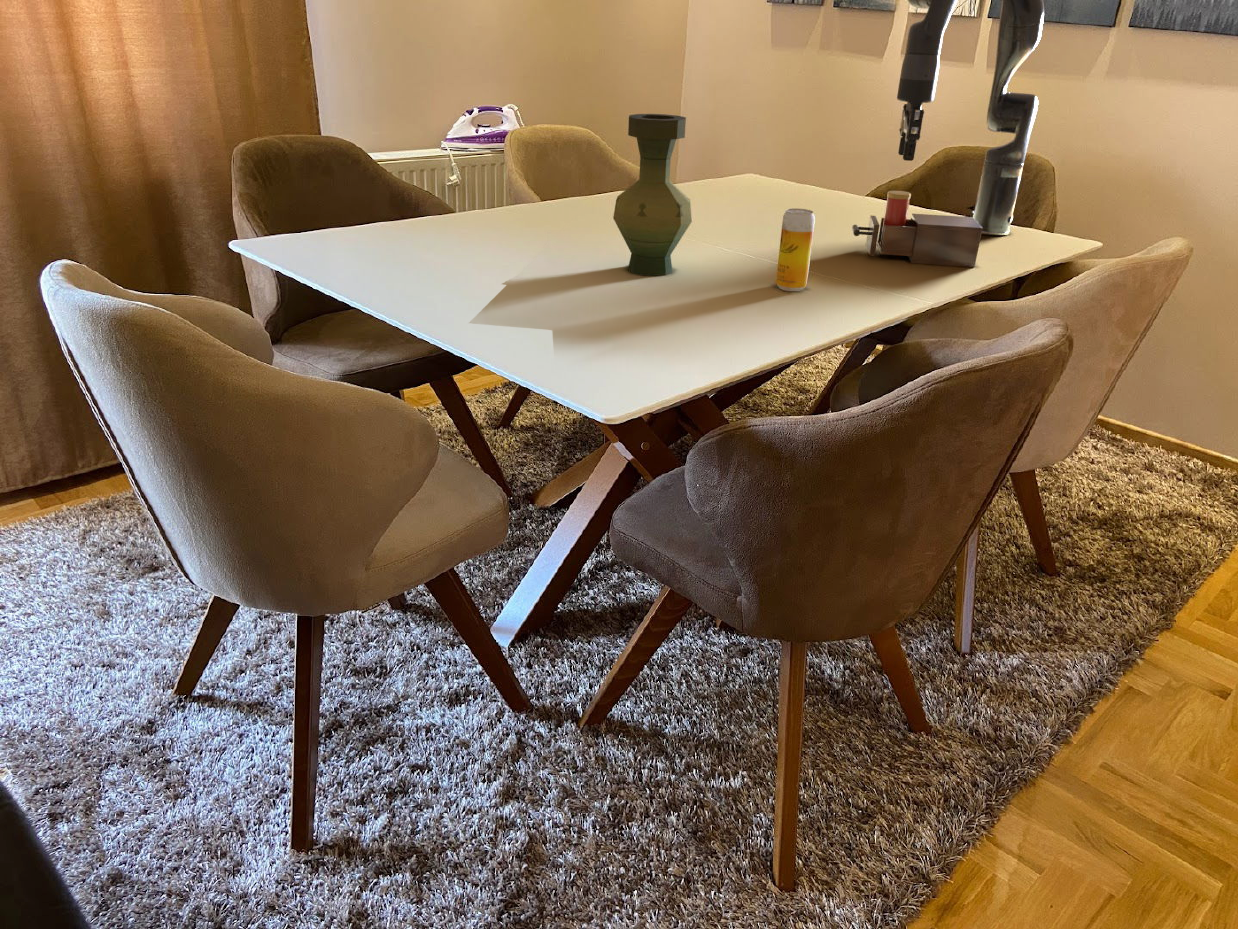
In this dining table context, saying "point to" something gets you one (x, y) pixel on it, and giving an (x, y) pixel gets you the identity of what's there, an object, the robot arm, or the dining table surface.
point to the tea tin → (896, 209)
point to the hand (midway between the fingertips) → (905, 157)
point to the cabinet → (945, 240)
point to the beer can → (795, 249)
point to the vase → (653, 197)
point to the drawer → (888, 237)
